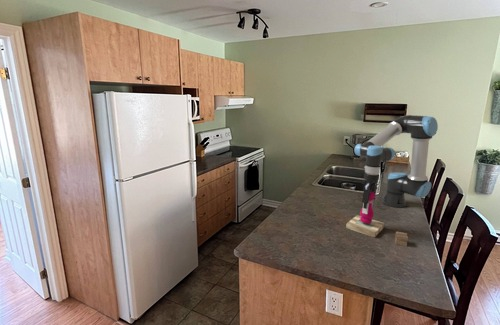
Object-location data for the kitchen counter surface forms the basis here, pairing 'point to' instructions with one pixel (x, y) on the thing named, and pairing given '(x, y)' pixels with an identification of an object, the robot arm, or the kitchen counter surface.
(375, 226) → the base plate
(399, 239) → the block
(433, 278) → the kitchen counter surface
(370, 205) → the pepper mill
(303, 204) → the kitchen counter surface
